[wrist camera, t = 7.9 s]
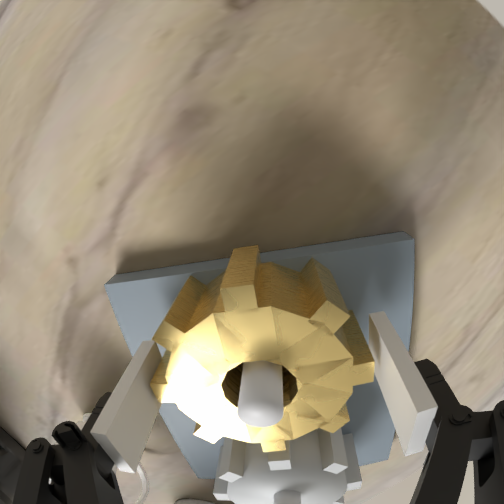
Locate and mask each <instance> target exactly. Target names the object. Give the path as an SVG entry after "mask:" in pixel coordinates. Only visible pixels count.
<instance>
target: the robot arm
mask: <svg viewBox="0 0 504 504" xmlns="http://www.w3.org/2000/svg"><path fill="white" fill-rule="evenodd" d="M369 349H370V351H371V354H372V356H373V358H374V361H375V367H374V373H375V376H376V378H377V381H378V384H379V386H380V389H381V391H382V394H383V397H384V399H385V402H386V405H387V407H388V410H389V413H390V416H391V418H392V421H393V424H394V427H395V430H396V432H397V435H398V438H399V441H400V444H401V447H402V450H403V453H404V456H408V455H411V454H415V453H418V452H421V451H423V449H424V446H425V443H426V445H427V448H428V450H429V452H428V455H427V457H426V459H425V462H424V464H423V465H424V467H423V470H422V473H421V476H420V478H419V481H418V484H417V486H416V489H415V492H414V494H413V497H412V499H411V502H410V504H457V502H458V499H459V496H460V492H461V488H462V484H463V481H464V476H465V472H466V468H467V463H468V461H473V464H474V486H475V487H474V489H475V504H504V400H503V401H500V402H499V403H498V404H497V405H496V406H495V408H494V410H493V411H484V412H473V411H472V410H471V409H470V408H468V407H467V406H463V405H460V403H459V402H458V400H457V399H456V397H455V395H454V393H453V392H452V390H451V388H450V387H449V385H448V383H447V382H446V381H445V379H444V377H443V375H442V374H441V372H440V370H439V369H438V367H437V366H436V364H434V363H433V362H431V361H430V360H428V359H424V360H421V361H417V362H414V361H413V360H412V358H411V356H410V354H409V353H408V351H407V349H406V347H405V346H404V344H403V342H402V341H401V339H400V337H399V336H398V334H397V332H396V331H395V329H394V327H393V326H392V324H391V322H390V321H389V319H388V317H387V316H386V314H385V312H384V311H381V312H376V313H370V314H369ZM161 359H162V356H161V353H160V351H159V348H158V346H157V343H156V342H155V341H153V340H150V341H142V343H141V345H140V346H139V348H138V350H137V351H136V353H135V355H134V356H133V358H132V360H131V361H130V363H129V365H128V366H127V368H126V370H125V371H124V373H123V375H122V377H121V378H120V380H119V382H118V383H117V385H116V387H115V389H114V390H113V392H107V393H106V394H105V395H104V396H102V397H101V398H100V399H99V401H98V403H97V404H96V406H95V408H94V409H93V411H92V414H91V415H90V416H89V418H88V420H87V421H86V423H85V425H84V427H83V428H82V430H80V429H79V427H78V426H77V424H75V423H74V422H71V421H66V422H63V423H60V424H59V425H57V426H56V427H55V429H54V430H53V432H52V436H53V438H54V439H55V440H56V441H57V443H58V445H51V444H50V443H49V442H48V441H47V440H46V439H45V438H36V439H34V440H33V441H31V442H30V443H29V445H28V447H27V450H26V451H25V450H24V449H23V448H22V447H21V446H20V445H19V444H18V443H17V442H16V441H15V440H14V439H13V438H12V437H11V436H9V435H8V434H7V433H6V432H5V431H4V430H2V429H1V428H0V504H124V503H123V500H122V496H121V493H120V490H119V486H118V482H117V479H116V475H115V473H114V471H113V470H112V468H113V466H114V464H115V465H116V466H117V467H118V469H119V470H120V471H124V472H130V473H136V470H137V467H138V465H139V462H140V459H141V456H142V454H143V451H144V448H145V446H146V443H147V441H148V438H149V435H150V433H151V430H152V427H153V425H154V422H155V420H156V417H157V414H158V412H159V409H160V407H161V404H162V402H158V400H157V398H156V396H155V394H154V392H153V390H152V388H151V386H150V382H151V380H152V378H153V376H154V374H155V372H156V370H157V368H158V365H159V363H160V361H161ZM49 478H50V479H51V483H50V484H49Z"/></svg>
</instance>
